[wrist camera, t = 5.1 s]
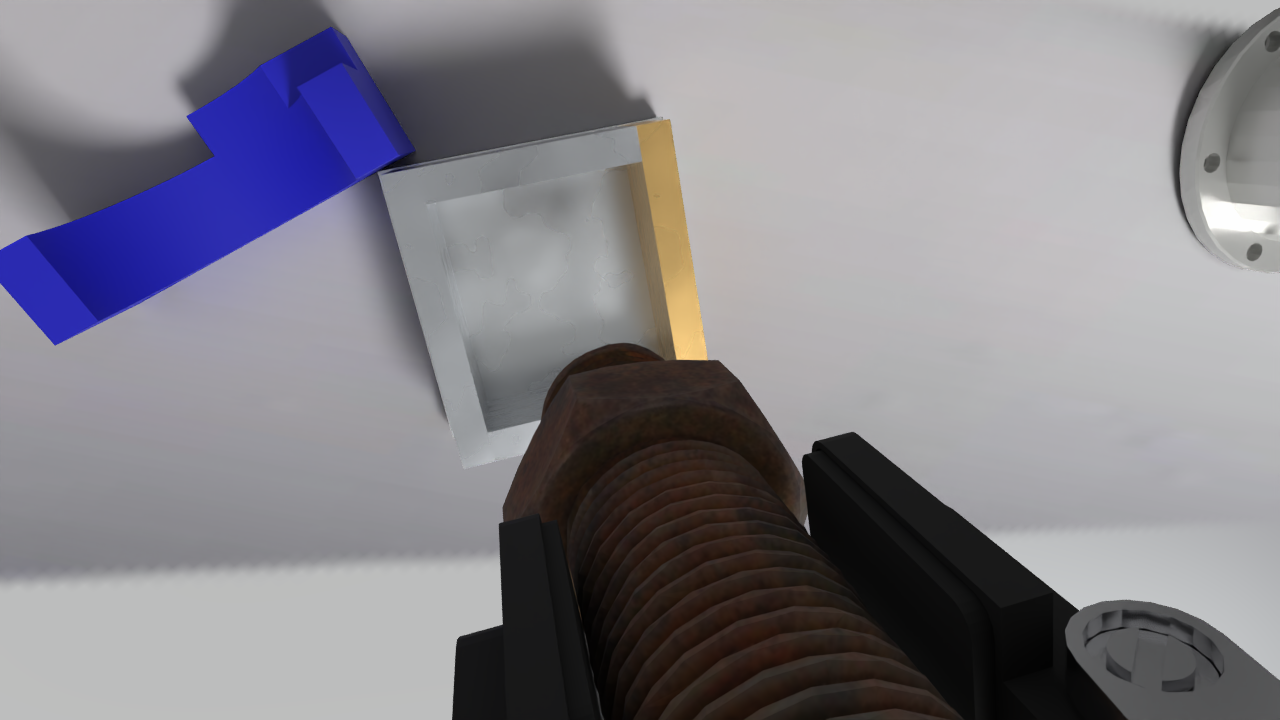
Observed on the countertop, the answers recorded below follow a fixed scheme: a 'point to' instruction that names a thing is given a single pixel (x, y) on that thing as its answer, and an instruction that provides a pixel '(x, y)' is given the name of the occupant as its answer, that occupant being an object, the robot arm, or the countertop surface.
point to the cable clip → (216, 189)
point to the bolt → (701, 553)
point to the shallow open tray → (542, 269)
